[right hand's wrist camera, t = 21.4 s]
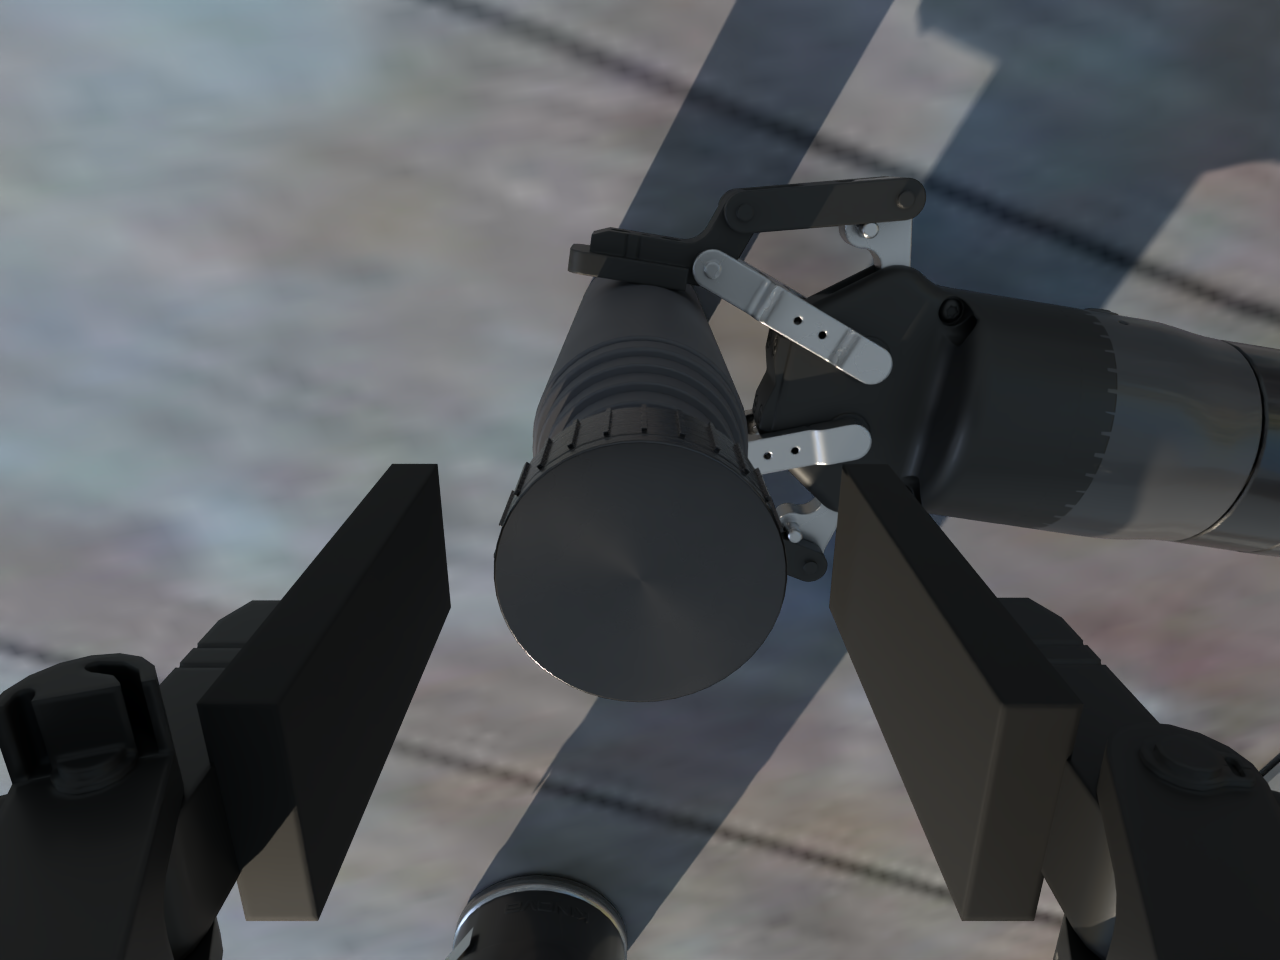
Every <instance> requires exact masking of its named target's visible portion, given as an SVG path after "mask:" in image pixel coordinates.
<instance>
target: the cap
mask: <svg viewBox="0 0 1280 960" xmlns="http://www.w3.org/2000/svg"><path fill="white" fill-rule="evenodd" d="M499 526H502V529H501V532H500V535H499V538H498V542H497V546H496V550H495V553H494V582H495V590H496V596H497V599H498V603H499V606H500V610H501V613H502V615H503V617H504V619H505V622H506V624H507V626H508V628H509V630H510V631H511V633H512V634H513V636H514V638H515V639H516V641H517V642H518V644H519V645H520V646H521V647H522V648H523V650H524V651H525V652H526V653H527V654H528V656H529V657H531V658H532V659H533V660H534V661H535V662H536V663H537V664H538V665H539V666H540V667H541V668H543V669H544V670H545V671H547V672H548V673H550V674H551V675H552V676H554V677H555V678H557V679H559V680H560V681H562V682H564V683H566V684H567V685H569V686H571V687H574V688H576V689H578V690H581V691H583V692H586V693H588V694H592V695H595V696H599V697H602V698H607V699H613V700H619V701H629V702H652V701H662V700H668V699H675V698H679V697H682V696H686V695H689V694H693V693H695V692H698V691H700V690H703V689H705V688H708V687H710V686H712V685H714V684H715V683H717V682H719V681H721V680H723V679H725V678H726V677H727V676H729V675H730V674H732V673H733V672H734V671H736V670H737V669H739V668H740V667H741V666H742V665H743V664H744V663H745V662H746V661H747V660H749V659H750V658H751V657H752V656H753V654H754V653H755V652H756V651H757V650H758V649H759V647H760V646H761V645H762V644H763V642H764V641H765V639H766V638H767V636H768V635H769V633H770V631H771V630H772V628H773V626H774V624H775V622H776V620H777V617H778V615H779V613H780V610H781V607H782V603H783V600H784V597H785V591H786V584H787V558H786V551H785V545H784V541H783V538H782V535H781V533H782V532H784V530H783V526H782V524H781V521H780V519H779V516H778V513H777V511H776V508H775V506H774V503H773V501H772V498H771V497H770V495H769V492H768V490H767V487H766V484H765V482H764V479H763V477H762V474H761V472H760V470H759V468H756V469H755V468H754V467H753V465H752V464H751V462H750V461H749V459H748V458H747V456H746V455H745V454H744V453H743V451H742V448H741V445H740V444H739V443H738V442H736V443H733V442H732V441H731V440H730V439H729V438H728V437H727V436H725V435H724V434H723V433H721V432H720V431H718V430H717V429H715V427H714V424H713V423H711V422H709V424H707V423H705V422H703V421H701V420H699V419H697V418H695V417H692V416H689V415H686V414H683V413H682V410H679V409H677V410H676V411H672V410H667V409H662V408H651V407H647V405H646V404H642V407H629V408H620V409H614V410H612V409H611V407H610V408H606V411H604V412H601V413H598V414H595V415H592V416H589V417H587V418H585V419H583V420H580V421H579V420H578V419H576V420H574V421H573V424H572V425H571V426H569V427H567V428H566V429H564V430H563V431H561V432H560V433H558V434H557V435H556V436H555V437H553V438H552V439H550V438H549V437H548V438H547V439H546V440H545V443H544V446H543V448H542V449H541V450H540V451H539V452H538V453H537V454H536V455H535V457H534V458H533V459H532V461H531V462H530V464H529V463H528V462H526V463H525V465H524V467H523V470H522V472H521V475H520V478H519V480H518V483H517V486H516V488H515V491H512V492H511V495H510V497H509V500H508V502H507V505H506V507H505V510H504V513H503V515H502V518H501V520H500V523H499Z"/></svg>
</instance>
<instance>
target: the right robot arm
mask: <svg viewBox="0 0 1280 960" xmlns="http://www.w3.org/2000/svg"><path fill="white" fill-rule="evenodd" d="M450 608H451V604H450V593H449V582H448V571H447V561H446V550H445V539H444V529H443V518H442V507H441V496H440V486H439V475H438V464H392V465H391V466H390V467H389V468H388V470H387V471H386V472H385V473H384V475H383V476H382V477H381V478H380V479H379V481H378V482H377V483H376V484H375V486H374V487H373V488H372V489H371V491H370V492H369V493H368V494H367V495H366V497H365V498H364V499H363V500H362V502H361V503H360V504H359V505H358V506H357V508H356V509H355V510H354V511H353V513H352V514H351V515H350V516H349V517H348V519H347V520H346V521H345V522H344V524H343V525H342V526H341V527H340V528H339V530H338V531H337V532H336V533H335V535H334V536H333V537H332V538H331V540H330V541H329V542H328V543H327V544H326V546H325V547H324V548H323V549H322V551H321V552H320V553H319V554H318V555H317V557H316V558H315V559H314V560H313V562H312V563H311V564H310V565H309V566H308V568H307V569H306V570H305V571H304V573H303V574H302V575H301V576H300V577H299V579H298V580H297V581H296V582H295V584H294V585H293V586H292V587H291V589H290V590H289V591H288V592H287V593H286V595H285V596H284V597H283V598H282V600H281V601H251V602H249V603H247V604H246V605H244V606H242V607H240V608H239V609H237V610H235V611H234V612H232V613H230V614H229V615H227V616H225V617H224V618H222V619H220V620H219V621H218V622H217V623H216V624H215V625H214V626H213V627H212V628H211V629H210V631H209V632H208V633H207V634H206V635H205V636H204V637H203V638H202V639H201V640H200V641H199V643H198V647H197V648H193V649H192V650H191V651H190V652H189V653H188V655H187V656H186V657H185V658H184V659H183V660H182V661H181V662H180V667H179V668H175V669H174V670H173V671H172V672H171V673H170V674H169V675H168V676H167V677H166V679H165V680H164V681H163V682H162V683H161V684H160V685H159V682H158V678H157V674H156V670H155V666H154V665H153V664H151V663H150V662H148V661H147V660H146V659H144V658H143V657H140V656H134V655H127V654H121V653H117V654H104V655H91V656H87V657H83V658H79V659H75V660H71V661H67V662H63V663H59V664H57V665H54V666H52V667H49V668H47V669H44V670H42V671H39V672H37V673H34V674H32V675H29V676H28V677H26V678H25V679H23V680H21V681H20V682H18V683H16V684H15V685H13V686H12V687H10V688H8V689H7V690H5V691H4V692H3V693H2V694H1V695H0V749H1V752H2V755H3V758H4V761H5V763H6V766H7V769H8V772H9V775H10V778H11V781H12V786H11V788H10V790H9V792H8V794H6V795H2V796H0V960H222V956H223V947H222V940H221V934H220V929H219V925H218V921H217V917H216V916H217V914H218V913H219V911H220V909H221V907H222V905H223V904H224V902H225V900H226V898H227V896H228V895H229V893H230V891H231V889H232V888H233V886H234V884H235V882H236V880H237V884H238V888H239V892H240V897H241V901H242V905H243V910H244V914H245V918H246V921H318V920H319V917H320V915H321V913H322V910H323V908H324V906H325V903H326V901H327V899H328V896H329V894H330V891H331V889H332V887H333V884H334V882H335V880H336V877H337V875H338V873H339V870H340V868H341V865H342V863H343V861H344V858H345V856H346V854H347V851H348V849H349V847H350V844H351V842H352V839H353V837H354V835H355V832H356V830H357V828H358V825H359V823H360V821H361V818H362V816H363V814H364V811H365V809H366V806H367V804H368V802H369V799H370V797H371V795H372V792H373V790H374V788H375V785H376V783H377V780H378V778H379V776H380V773H381V771H382V769H383V766H384V764H385V762H386V759H387V757H388V754H389V752H390V750H391V747H392V745H393V743H394V740H395V738H396V736H397V733H398V731H399V728H400V726H401V724H402V721H403V719H404V717H405V714H406V712H407V710H408V707H409V705H410V702H411V700H412V698H413V695H414V693H415V691H416V688H417V686H418V684H419V681H420V679H421V676H422V674H423V672H424V669H425V667H426V665H427V662H428V660H429V658H430V655H431V653H432V651H433V648H434V646H435V643H436V641H437V639H438V636H439V634H440V632H441V629H442V627H443V625H444V622H445V620H446V617H447V615H448V613H449V610H450ZM829 608H830V610H831V613H832V615H833V617H834V620H835V622H836V625H837V627H838V629H839V632H840V634H841V636H842V639H843V641H844V643H845V646H846V648H847V651H848V653H849V655H850V658H851V660H852V662H853V665H854V667H855V669H856V672H857V674H858V676H859V679H860V681H861V684H862V686H863V688H864V691H865V693H866V695H867V698H868V700H869V702H870V705H871V707H872V710H873V712H874V714H875V717H876V719H877V721H878V724H879V726H880V728H881V731H882V733H883V736H884V738H885V740H886V743H887V745H888V747H889V750H890V752H891V754H892V757H893V759H894V762H895V764H896V766H897V769H898V771H899V773H900V776H901V778H902V780H903V783H904V785H905V788H906V790H907V792H908V795H909V797H910V799H911V802H912V804H913V806H914V809H915V811H916V814H917V816H918V818H919V821H920V823H921V825H922V828H923V830H924V832H925V835H926V837H927V839H928V842H929V844H930V847H931V849H932V851H933V854H934V856H935V858H936V861H937V863H938V865H939V868H940V870H941V873H942V875H943V877H944V880H945V882H946V884H947V887H948V889H949V891H950V894H951V896H952V899H953V901H954V903H955V906H956V908H957V910H958V913H959V915H960V917H961V920H962V921H1034V918H1035V914H1036V910H1037V905H1038V901H1039V897H1040V892H1041V888H1042V884H1043V879H1044V878H1045V880H1046V881H1047V883H1048V885H1049V887H1050V889H1051V890H1052V892H1053V894H1054V896H1055V897H1056V899H1057V901H1058V903H1059V905H1060V906H1061V908H1062V910H1063V912H1064V917H1063V921H1062V925H1061V929H1060V933H1059V938H1058V942H1057V946H1056V950H1055V954H1054V958H1053V960H1280V792H1277V791H1274V790H1271V788H1270V786H1269V784H1268V783H1267V781H1266V780H1265V779H1264V778H1263V776H1262V775H1261V774H1260V773H1259V771H1258V770H1257V769H1256V768H1255V766H1254V765H1253V764H1252V763H1251V762H1249V761H1248V760H1246V759H1245V758H1244V757H1242V756H1241V755H1240V754H1238V753H1237V752H1235V751H1234V750H1233V749H1231V748H1230V747H1228V746H1226V745H1224V744H1222V743H1220V742H1218V741H1216V740H1213V739H1211V738H1209V737H1207V736H1205V735H1203V734H1201V733H1198V732H1194V731H1191V730H1187V729H1184V728H1180V727H1177V726H1173V725H1169V724H1160V723H1159V722H1158V721H1157V720H1156V719H1155V718H1154V717H1153V716H1152V715H1151V714H1150V713H1149V712H1148V710H1147V709H1146V708H1145V707H1144V706H1143V705H1142V704H1141V703H1140V702H1139V701H1138V700H1137V699H1136V697H1135V696H1134V695H1133V694H1132V693H1131V692H1130V691H1129V690H1128V689H1127V688H1126V687H1125V686H1124V684H1123V683H1122V682H1121V681H1120V680H1119V679H1118V678H1117V677H1116V676H1115V675H1114V674H1113V673H1112V671H1111V670H1110V669H1109V668H1108V667H1107V666H1106V665H1101V660H1100V658H1099V657H1098V656H1097V655H1096V654H1095V653H1094V652H1093V651H1092V650H1091V649H1090V648H1089V647H1088V645H1083V640H1082V639H1081V638H1080V637H1079V636H1078V635H1077V633H1076V632H1075V631H1074V630H1073V629H1072V628H1071V627H1070V626H1069V625H1068V624H1067V623H1066V622H1065V620H1064V619H1063V618H1062V617H1060V616H1058V615H1057V614H1055V613H1053V612H1052V611H1050V610H1048V609H1046V608H1045V607H1043V606H1041V605H1040V604H1038V603H1036V602H1035V601H1033V600H1031V599H1029V598H997V597H996V596H995V595H994V593H993V592H992V591H991V590H990V589H989V587H988V586H987V585H986V584H985V582H984V581H983V580H982V579H981V577H980V576H979V575H978V574H977V573H976V571H975V570H974V569H973V568H972V566H971V565H970V564H969V563H968V562H967V560H966V559H965V558H964V557H963V555H962V554H961V553H960V552H959V551H958V549H957V548H956V547H955V546H954V544H953V543H952V542H951V541H950V540H949V538H948V537H947V536H946V535H945V533H944V532H943V531H942V530H941V528H940V527H939V526H938V525H937V524H936V522H935V521H934V520H933V519H932V517H931V516H930V515H929V514H928V513H927V511H926V510H925V509H924V508H923V506H922V505H921V504H920V503H919V502H918V500H917V499H916V498H915V497H914V495H913V494H912V493H911V492H910V491H909V489H908V488H907V487H906V486H905V484H904V483H903V482H902V481H901V479H900V478H899V477H898V476H897V475H896V473H895V472H894V471H893V470H892V468H891V467H890V466H889V465H888V464H842V475H841V486H840V496H839V507H838V518H837V529H836V539H835V550H834V561H833V571H832V582H831V593H830V604H829Z"/></svg>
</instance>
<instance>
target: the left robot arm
mask: <svg viewBox="0 0 1280 960" xmlns="http://www.w3.org/2000/svg"><path fill="white" fill-rule="evenodd" d="M925 201H926V192H925V189H924V187H923V185H922V184H921V183H920V182H919V181H917V180H915V179H913V178H903V177H888V176H883V177H871V178H859V179H847V180H835V181H823V182H811V183H799V184H787V185H775V186H763V187H751V188H739V189H732V190H729V191H728V192H726V193H725V194H724V195H723V196H722V197H721V199H720V201H719V204H718V208H717V209H716V211H715V213H714V215H713V217H712V218H711V220H710V222H709V224H708V226H707V227H706V229H705V230H704V231H703V232H702V233H701V234H700V235H698V236H696V237H694V238H691V239H679V238H673V237H667V236H661V235H655V234H648V233H642V232H636V231H630V230H624V229H618V228H612V227H609V228H605V229H601V230H597V231H594V232H593V234H592V237H591V244H590V245H584V244H573V245H572V247H571V248H570V256H569V264H568V271H569V272H572V273H576V274H581V275H587V276H593V277H600V278H606V279H612V280H618V281H624V282H631V283H637V284H643V285H651V286H657V287H662V288H668V289H674V290H680V291H685V290H686V284H691V285H697V286H701V287H703V288H705V289H706V290H708V291H710V292H712V293H713V294H715V295H717V296H718V297H720V298H722V299H724V300H725V301H727V302H729V303H731V304H732V305H734V306H736V307H737V308H739V309H741V310H743V311H744V312H746V313H748V314H749V315H751V316H752V317H753V318H755V319H756V320H758V321H759V322H761V323H762V324H764V325H766V326H767V327H769V328H770V329H769V333H768V338H767V343H766V362H767V370H766V373H765V375H764V377H763V379H762V381H761V382H760V384H759V386H758V388H757V390H756V394H755V399H754V404H753V408H752V409H751V410H745V411H744V412H745V416H746V420H747V429H748V459H749V461H750V462H751V464H752V465H753V467H754V468H755V469H756V468H759V470H760V472H761V474H768V473H773V472H778V471H784V470H789V471H790V472H791V473H792V474H793V475H794V476H795V477H796V478H797V479H798V480H799V481H800V482H801V483H802V484H803V485H804V486H805V487H806V488H807V489H808V490H809V491H810V492H811V493H812V494H813V495H814V496H815V497H814V498H813V499H812V500H811V501H810V502H808V503H805V504H800V505H798V504H793V503H784V504H781V505H779V506H778V507H776V511H777V513H778V516H779V519H780V521H781V524H782V526H783V530H784V532H782V533H781V535H782V538H783V541H784V545H785V551H786V558H787V575H789V576H792V577H794V578H797V579H800V580H802V581H807V582H811V581H815V580H818V579H819V578H821V577H822V576H823V575H824V574H825V572H826V570H827V561H826V558H825V556H824V550H825V548H826V546H827V544H828V542H829V541H830V539H831V537H832V535H833V533H834V531H835V530H836V528H837V518H838V507H839V496H840V486H841V475H842V464H888V465H889V466H890V467H891V468H892V470H893V471H894V472H895V473H896V475H897V476H898V477H899V478H900V479H901V481H902V482H903V483H904V484H905V486H906V487H907V488H908V489H909V491H910V492H911V493H912V494H913V495H914V497H915V498H916V499H917V500H918V502H919V503H920V504H921V505H922V506H923V508H924V509H925V510H926V511H927V513H929V514H936V515H943V516H949V517H956V518H963V519H970V520H977V521H983V522H990V523H997V524H1005V525H1011V526H1018V527H1024V528H1031V529H1038V530H1045V531H1052V532H1058V533H1065V534H1072V535H1079V536H1085V537H1094V538H1103V539H1125V540H1133V539H1148V540H1162V541H1171V542H1178V543H1185V544H1191V545H1198V546H1205V547H1212V548H1218V549H1225V550H1232V551H1238V552H1244V553H1252V554H1259V555H1267V556H1277V557H1280V349H1274V348H1268V347H1261V346H1255V345H1249V344H1243V343H1237V342H1231V341H1224V340H1218V339H1213V338H1208V337H1204V336H1201V335H1197V334H1194V333H1191V332H1188V331H1185V330H1182V329H1179V328H1176V327H1173V326H1169V325H1166V324H1162V323H1158V322H1154V321H1149V320H1144V319H1137V318H1131V317H1125V316H1120V315H1118V314H1116V313H1113V312H1111V311H1109V310H1104V309H1094V308H1088V309H1084V310H1082V309H1077V308H1071V307H1065V306H1059V305H1053V304H1046V303H1040V302H1034V301H1028V300H1021V299H1015V298H1009V297H1003V296H997V295H991V294H985V293H979V292H973V291H966V290H960V289H954V288H948V287H943V286H939V285H935V284H934V283H932V282H931V281H929V280H928V279H927V278H926V277H925V276H924V275H923V274H922V273H920V272H919V271H918V270H916V269H914V268H912V267H911V241H912V218H914V217H916V216H917V215H918V214H919V213H920V212H921V211H922V209H923V207H924V205H925ZM831 226H839V233H840V236H841V238H842V239H843V240H844V241H845V242H846V243H848V244H850V245H852V246H855V247H857V248H865V249H867V250H869V251H870V253H871V254H872V256H873V259H874V265H872V266H870V267H868V268H866V269H864V270H862V271H860V272H858V273H856V274H854V275H852V276H850V277H848V278H846V279H844V280H842V281H840V282H838V283H836V284H834V285H832V286H830V287H828V288H826V289H824V290H822V291H820V292H818V293H816V294H814V295H812V296H810V297H808V298H806V297H805V296H803V295H801V294H800V293H798V292H796V291H795V290H793V289H791V288H790V287H788V286H786V285H785V284H783V283H781V282H779V281H778V280H776V279H774V278H773V277H771V276H769V275H768V274H766V273H764V272H762V271H760V270H758V269H756V268H755V267H753V266H751V265H750V264H748V263H746V262H745V261H743V260H741V259H740V258H739V257H740V255H741V254H742V252H743V250H744V248H745V247H746V245H747V243H748V242H749V240H750V238H751V236H752V235H753V233H758V232H770V231H782V230H794V229H807V228H819V227H831ZM754 426H756V428H753V427H754ZM767 452H769V453H768V454H766V455H764V454H765V453H767ZM445 960H627V933H626V929H625V925H624V923H623V920H622V918H621V916H620V915H619V913H618V912H617V910H616V909H615V908H614V906H613V905H612V904H611V903H610V902H609V901H608V900H607V899H606V898H605V897H603V896H602V895H601V894H599V893H598V892H596V891H595V890H593V889H591V888H589V887H587V886H585V885H583V884H581V883H578V882H575V881H572V880H569V879H565V878H561V877H554V876H545V875H532V876H522V877H516V878H511V879H507V880H504V881H501V882H499V883H496V884H494V885H492V886H490V887H488V888H486V889H485V890H483V891H482V892H480V893H479V894H478V895H476V896H475V897H474V898H473V899H472V900H471V901H470V902H469V903H468V904H467V906H466V907H465V908H464V910H463V912H462V913H461V916H460V918H459V921H458V924H457V928H456V932H455V936H454V941H453V951H452V952H451V953H450V955H449V956H448V957H447V958H446V959H445Z"/></svg>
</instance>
